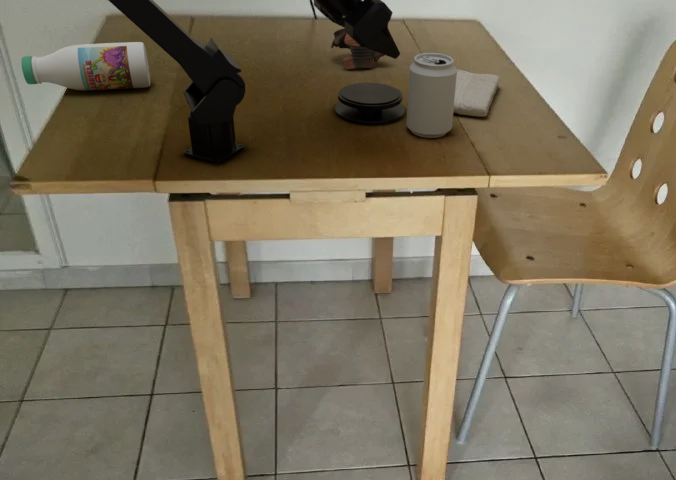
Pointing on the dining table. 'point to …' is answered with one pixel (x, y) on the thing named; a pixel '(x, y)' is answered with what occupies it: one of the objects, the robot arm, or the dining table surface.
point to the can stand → (369, 104)
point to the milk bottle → (91, 67)
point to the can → (431, 95)
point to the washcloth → (474, 93)
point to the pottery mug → (355, 51)
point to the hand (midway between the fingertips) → (386, 47)
